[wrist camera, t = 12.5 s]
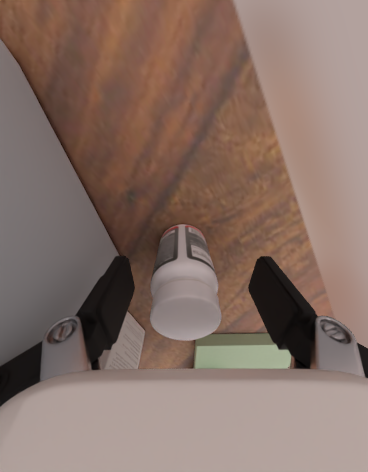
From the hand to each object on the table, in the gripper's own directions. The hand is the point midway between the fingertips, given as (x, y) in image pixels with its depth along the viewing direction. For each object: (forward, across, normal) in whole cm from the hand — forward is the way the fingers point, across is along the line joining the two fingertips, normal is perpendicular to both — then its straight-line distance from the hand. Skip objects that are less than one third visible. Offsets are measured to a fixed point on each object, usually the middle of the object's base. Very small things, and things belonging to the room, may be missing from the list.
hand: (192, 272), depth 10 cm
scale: (+5, -10, +24) cm, 26 cm away
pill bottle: (+6, +1, +1) cm, 6 cm away
